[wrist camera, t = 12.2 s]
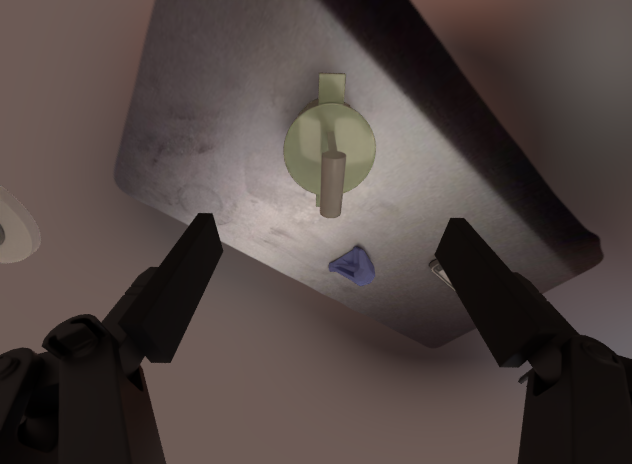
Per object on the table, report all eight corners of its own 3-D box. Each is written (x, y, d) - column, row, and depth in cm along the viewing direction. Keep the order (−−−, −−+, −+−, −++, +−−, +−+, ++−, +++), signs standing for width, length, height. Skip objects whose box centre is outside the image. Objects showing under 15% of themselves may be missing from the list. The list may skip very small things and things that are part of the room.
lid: (287, 190, 28) (275, 238, 21) (281, 100, 22) (263, 123, 15) (366, 192, 28) (382, 240, 21) (381, 103, 22) (410, 127, 15)
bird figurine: (384, 261, 44) (365, 244, 40) (376, 291, 41) (355, 276, 38) (350, 259, 50) (332, 245, 46) (341, 286, 47) (321, 273, 44)
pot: (296, 182, 35) (291, 209, 29) (292, 68, 27) (284, 73, 21) (353, 183, 35) (360, 210, 29) (367, 70, 27) (381, 75, 21)
